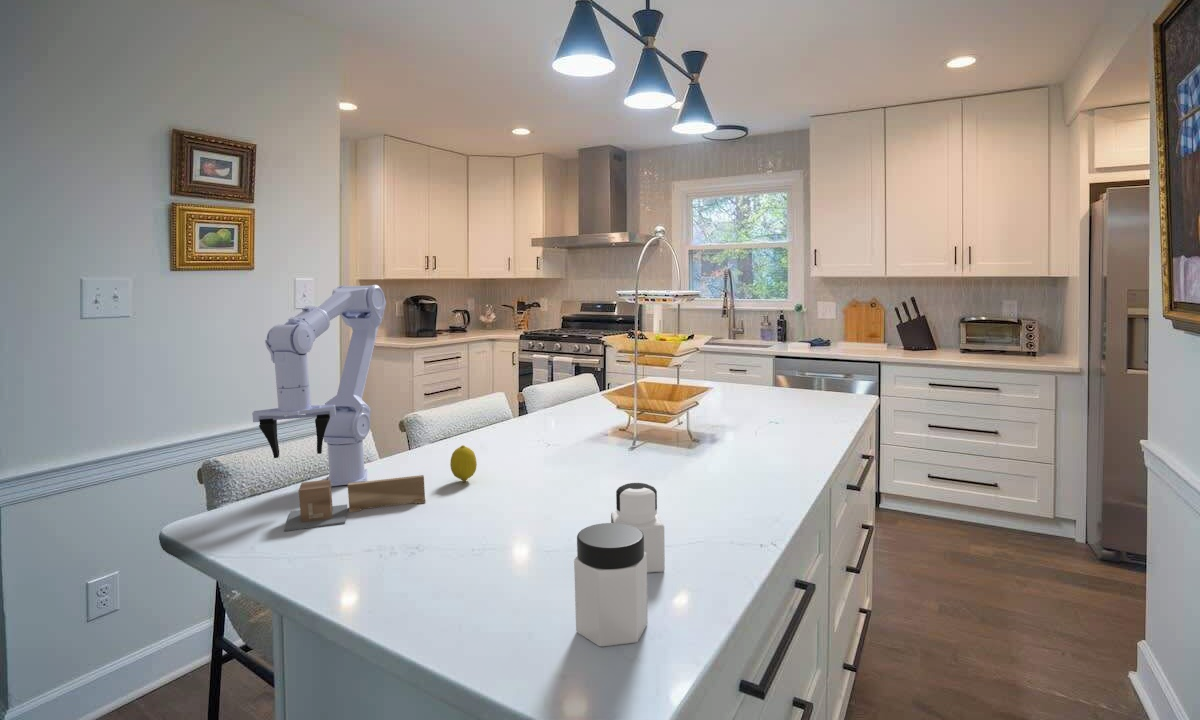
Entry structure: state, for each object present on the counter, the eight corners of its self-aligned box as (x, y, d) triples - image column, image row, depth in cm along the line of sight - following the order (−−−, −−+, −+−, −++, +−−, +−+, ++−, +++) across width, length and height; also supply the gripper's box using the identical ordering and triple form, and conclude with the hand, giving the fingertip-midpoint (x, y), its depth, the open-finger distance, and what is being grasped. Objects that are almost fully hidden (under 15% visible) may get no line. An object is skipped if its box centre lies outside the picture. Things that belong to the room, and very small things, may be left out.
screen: (349, 507, 126) (348, 482, 125) (424, 497, 130) (423, 473, 130) (349, 512, 123) (347, 486, 122) (425, 502, 127) (424, 477, 127)
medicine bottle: (611, 554, 101) (610, 480, 100) (656, 552, 102) (656, 478, 100) (616, 575, 94) (615, 495, 93) (665, 572, 95) (664, 493, 93)
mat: (290, 512, 123) (290, 511, 123) (347, 505, 126) (347, 504, 126) (284, 531, 114) (283, 529, 114) (345, 523, 117) (345, 521, 117)
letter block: (303, 513, 122) (301, 482, 121) (332, 510, 123) (330, 479, 123) (301, 523, 117) (298, 490, 116) (331, 519, 118) (328, 487, 118)
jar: (639, 608, 85) (638, 519, 83) (656, 641, 77) (655, 544, 75) (571, 615, 83) (568, 525, 82) (581, 650, 75) (578, 551, 74)
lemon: (471, 486, 137) (469, 449, 136) (447, 484, 138) (445, 448, 138) (481, 478, 143) (479, 442, 142) (457, 477, 144) (456, 441, 143)
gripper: (247, 392, 119) (253, 463, 121) (332, 386, 124) (337, 455, 126) (253, 386, 126) (259, 454, 128) (334, 381, 131) (338, 447, 132)
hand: (298, 454), depth 127 cm, fingers open, 7 cm apart
